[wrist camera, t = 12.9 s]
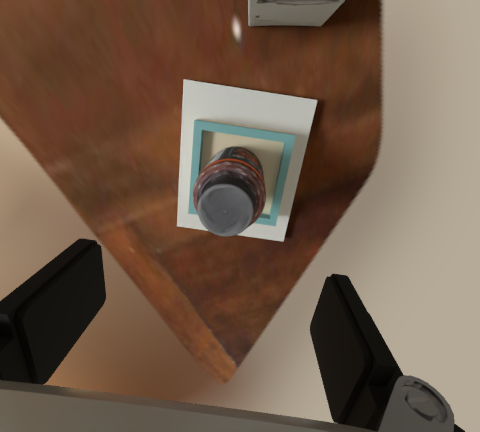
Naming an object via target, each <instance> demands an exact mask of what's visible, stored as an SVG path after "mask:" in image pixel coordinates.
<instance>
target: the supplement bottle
mask: <svg viewBox="0 0 480 432" xmlns="http://www.w3.org/2000/svg"><path fill="white" fill-rule="evenodd" d="M265 202H266V189H265V182H264V174H263V169H262V165H261V163H260V161H259V159H258V158H257V156H256V155H255V154H254V153H253V152H251V151H250V150H248V149H246V148H243V147H238V146H231V147H227V148H225V149H223V150H221V151H219V152H218V153H217V154H216V155H214V157H213V158H212V159H211V161H210V162H209V163H208V164H207V166H206V167H205V168H204V169H203V171H202V172H201V173H200V175H199V176H198V178H197V180H196V182H195V185H194V188H193V203H194V207H195V210H196V212H197V213H198V216H199V219H200V221H201V223H202V225H203V226H204V227H205V228H206V229H207V230H208V231H210V232H212V233H214V234H216V235H219V236H234V235H237V234H239V233H241V232H243V231H244V230H245V229H246V228H247V227H249V226H250V225H252V224H253V223H254V222H255V221H256V220H257V219H258V218H259V217H260V215H261V214H262V212H263V209H264V207H265Z"/></svg>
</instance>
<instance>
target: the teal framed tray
mask: <svg viewBox="0 0 480 432" xmlns="http://www.w3.org/2000/svg"><path fill="white" fill-rule="evenodd" d="M316 104H317V100H313V99H307V98H300V97H294V96H287V95H281V94H274V93H268V92H262V91H255V90H249V89H242V88H236V87H229V86H223V85H216V84H210V83H204V82H197V81H191V80H184V83H183V105H182V127H181V148H180V170H179V192H178V214H177V226H180V227H186V228H193V229H200V230H207V229H206V228H205V227H204V226H203V225H202V223H201V221H200V219H199V216H198V213H197V212H196V210H195V207H194V203H193V188H194V185H195V182H196V180H197V178H198V176H199V175H200V173H201V172H202V171H203V169H204V168H205V167H206V166H207V164H208V163H209V162H210V161H211V159H212V158H213V157H214V155H216V154H217V153H218V152H219V151H221V150H223V149H225V148H227V147H231V146H238V147H243V148H246V149H248V150H250V151H251V152H253V153H254V154H255V155H256V156H257V158H258V159H259V161H260V163H261V165H262V169H263V174H264V182H265V189H266V202H265V207H264V209H263V212H262V214H261V215H260V217H259V218H258V219H257V220H256V221H255V222H254V223H253V224H252V225H250V226H249V227H247V228H246V229H245V230H244V231H243V232H241V233H239V234H237V235H241V236H248V237H255V238H262V239H269V240H276V241H283V242H284V237H285V233H286V229H287V225H288V221H289V217H290V212H291V208H292V204H293V200H294V196H295V192H296V188H297V183H298V179H299V175H300V171H301V167H302V163H303V158H304V154H305V150H306V146H307V142H308V138H309V133H310V129H311V125H312V121H313V117H314V113H315V109H316ZM207 231H208V230H207Z"/></svg>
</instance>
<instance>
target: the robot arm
mask: <svg viewBox="0 0 480 432" xmlns="http://www.w3.org/2000/svg"><path fill="white" fill-rule="evenodd" d="M105 299H106V292H105V281H104V271H103V261H102V251H101V246H100V245H98V244H97V242H96V241H95V240H88V239H78V240H77V241H76V242H75V243H73V244H72V245H71V246H69V247H68V248H67V249H66V250H64V251H63V252H62V253H60V254H59V255H58V256H57V257H55V258H54V259H53V260H52V261H50V262H49V263H48V264H47V265H45V266H44V267H43V268H42V269H40V270H39V271H38V272H37V273H35V274H34V275H33V276H31V277H30V278H29V279H28V280H26V281H25V282H24V283H23V284H21V285H20V286H19V287H18V288H16V289H15V290H14V291H13V292H11V293H10V294H9V295H8V296H6V297H5V298H4V299H2V300H1V301H0V432H465V431H464V430H462V429H461V428H460V427H458V426H457V425H456V424H454V414H453V412H452V410H451V407H450V405H449V404H448V403H447V401H446V400H445V399H444V397H443V396H442V395H441V394H440V393H439V392H438V391H437V390H436V389H435V388H433V387H432V386H431V385H429V384H428V383H427V382H424V381H423V380H421V379H419V378H416V377H413V376H405V375H403V373H402V372H401V370H400V368H399V366H398V364H397V363H396V361H395V359H394V357H393V356H392V354H391V352H390V350H389V348H388V346H387V345H386V343H385V341H384V339H383V337H382V335H381V334H380V332H379V330H378V328H377V327H376V325H375V323H374V321H373V320H372V317H371V316H370V314H369V313H368V312H367V310H366V308H365V307H364V305H363V303H362V301H361V299H360V297H359V296H358V294H357V292H356V290H355V288H354V286H353V285H352V283H351V281H350V279H349V278H348V276H346V275H339V274H332V275H331V276H330V277H327V278H326V280H325V283H324V286H323V289H322V292H321V295H320V298H319V301H318V304H317V306H316V309H315V312H314V315H313V318H312V321H311V325H310V333H311V337H312V341H313V345H314V349H315V353H316V357H317V361H318V365H319V369H320V373H321V377H322V381H323V385H324V389H325V392H326V397H327V400H328V404H329V408H330V412H331V416H332V419H333V421H334V422H335V423H330V422H324V421H317V420H310V419H304V418H298V417H290V416H282V415H275V414H268V413H261V412H253V411H246V410H239V409H231V408H224V407H216V406H208V405H201V404H193V403H186V402H178V401H170V400H163V399H154V398H147V397H139V396H131V395H123V394H115V393H107V392H99V391H91V390H82V389H74V388H66V387H59V386H51V385H43V384H45V383H46V382H47V381H48V380H49V378H50V377H51V376H52V374H53V373H54V372H55V370H56V369H57V367H58V366H59V365H60V363H61V362H62V361H63V359H64V358H65V357H66V355H67V354H68V352H69V351H70V350H71V348H72V347H73V346H74V344H75V343H76V341H77V340H78V339H79V337H80V336H81V334H82V333H83V332H84V331H85V329H86V328H87V326H88V325H89V324H90V322H91V321H92V319H93V318H94V317H95V316H96V314H97V313H98V311H99V310H100V309H101V307H102V306H103V304H104V302H105ZM337 423H338V424H337Z"/></svg>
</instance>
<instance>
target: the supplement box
mask: <svg viewBox="0 0 480 432" xmlns="http://www.w3.org/2000/svg"><path fill="white" fill-rule="evenodd" d="M344 1H345V0H248V18H249V26H268V25H299V26H322V25H323V24H324V23H325V22H326V21H327V20H328V18H329V17H330V16H331V15H332V14H333V13H334V12H335V11H336V10H337V9H338V8H339V7H340V5H341V4H342V3H343V2H344Z"/></svg>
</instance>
